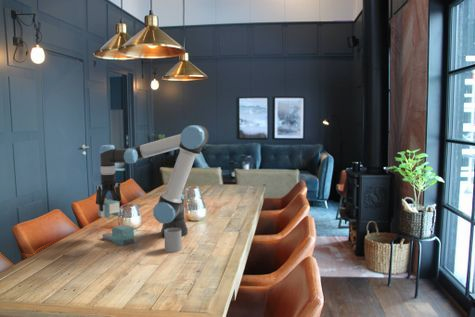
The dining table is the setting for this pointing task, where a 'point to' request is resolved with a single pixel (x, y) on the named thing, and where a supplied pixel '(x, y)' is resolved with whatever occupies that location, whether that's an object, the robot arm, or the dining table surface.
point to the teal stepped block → (121, 235)
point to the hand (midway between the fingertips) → (109, 215)
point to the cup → (173, 240)
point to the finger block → (111, 208)
